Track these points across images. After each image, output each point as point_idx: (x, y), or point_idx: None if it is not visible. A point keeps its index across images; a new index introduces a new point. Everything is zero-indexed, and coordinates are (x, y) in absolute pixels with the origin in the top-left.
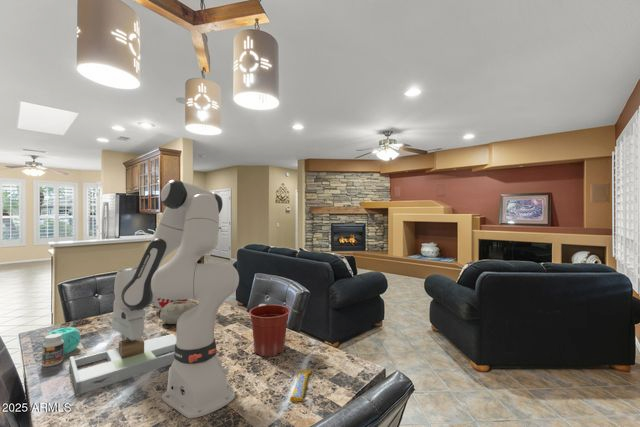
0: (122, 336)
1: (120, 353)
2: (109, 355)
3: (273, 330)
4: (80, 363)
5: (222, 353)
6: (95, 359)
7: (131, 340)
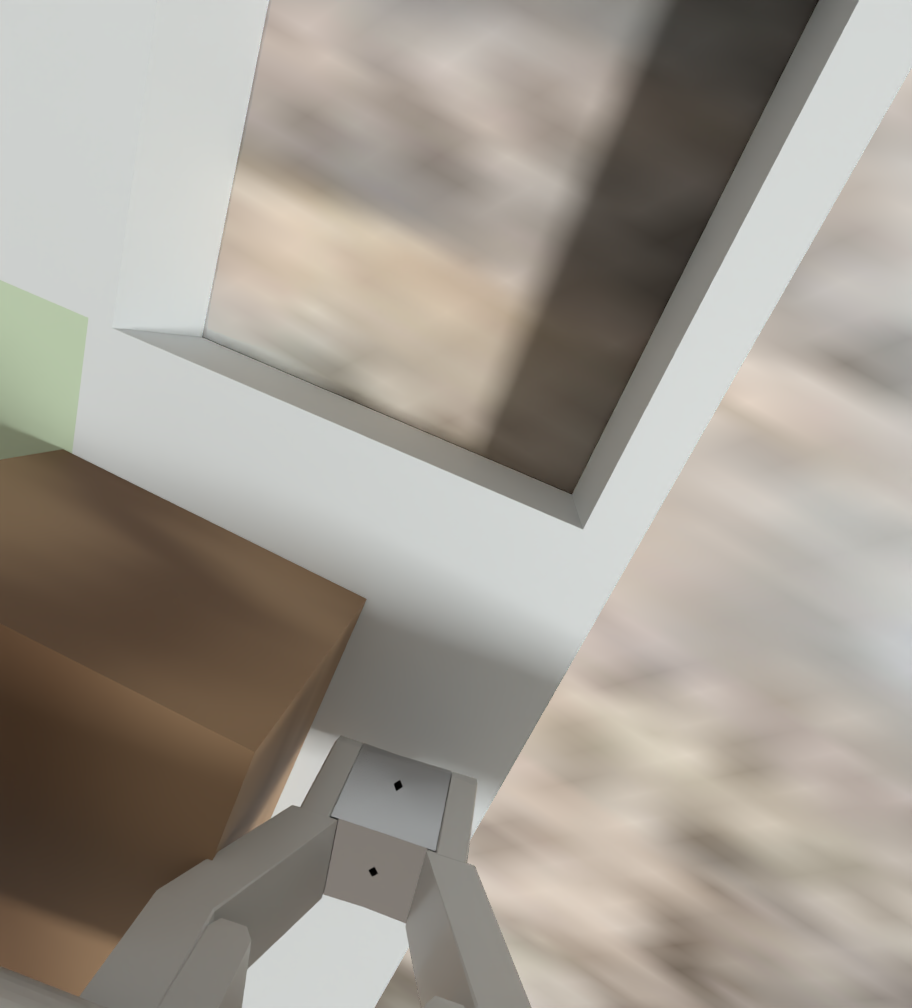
0: (462, 985)
1: (136, 519)
2: (365, 445)
3: None
4: (777, 95)
5: None
6: (653, 352)
7: (49, 857)
